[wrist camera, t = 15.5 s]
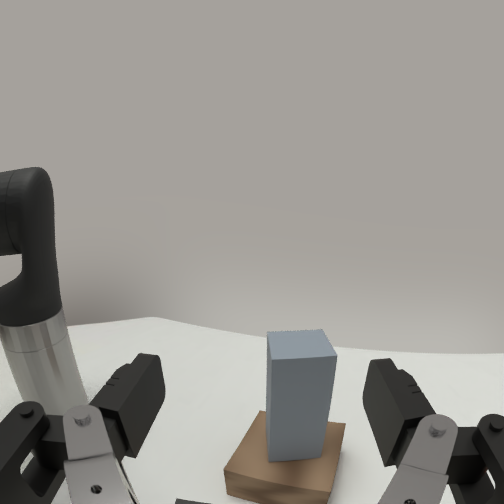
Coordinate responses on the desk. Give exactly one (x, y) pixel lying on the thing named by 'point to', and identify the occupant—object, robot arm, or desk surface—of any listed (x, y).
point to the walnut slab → (282, 469)
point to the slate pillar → (298, 393)
